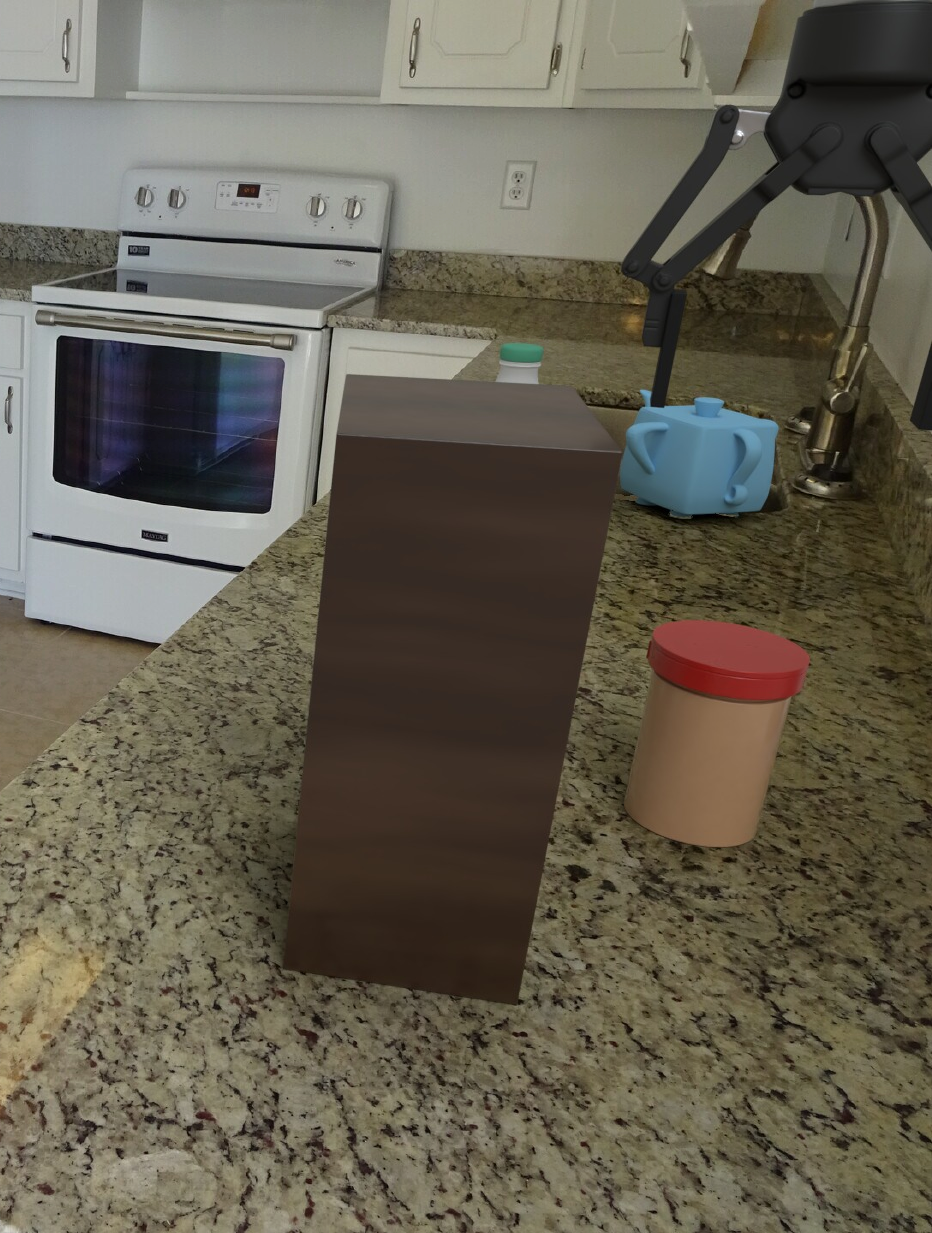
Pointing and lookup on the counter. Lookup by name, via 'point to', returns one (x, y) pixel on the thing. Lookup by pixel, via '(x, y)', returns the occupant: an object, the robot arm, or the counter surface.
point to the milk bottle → (519, 363)
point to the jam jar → (703, 764)
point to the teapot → (698, 458)
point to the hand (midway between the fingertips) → (784, 415)
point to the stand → (444, 677)
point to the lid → (728, 660)
